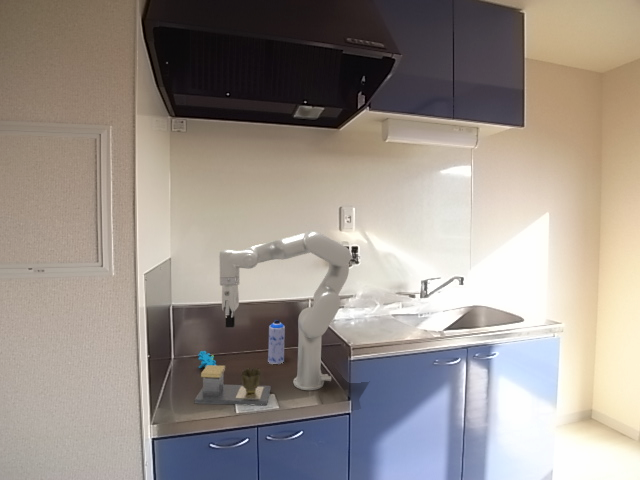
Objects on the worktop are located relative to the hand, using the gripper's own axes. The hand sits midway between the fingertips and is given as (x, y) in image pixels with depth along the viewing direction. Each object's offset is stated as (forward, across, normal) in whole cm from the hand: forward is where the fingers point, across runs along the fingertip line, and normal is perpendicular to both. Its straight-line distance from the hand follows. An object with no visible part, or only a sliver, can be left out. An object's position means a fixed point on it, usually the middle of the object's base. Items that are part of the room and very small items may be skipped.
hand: (230, 326), depth 138 cm
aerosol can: (+25, +26, -16) cm, 40 cm away
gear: (+25, +18, +14) cm, 33 cm away
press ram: (+22, -7, +5) cm, 24 cm away
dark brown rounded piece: (+23, -7, -9) cm, 26 cm away
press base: (+25, -7, -3) cm, 26 cm away
